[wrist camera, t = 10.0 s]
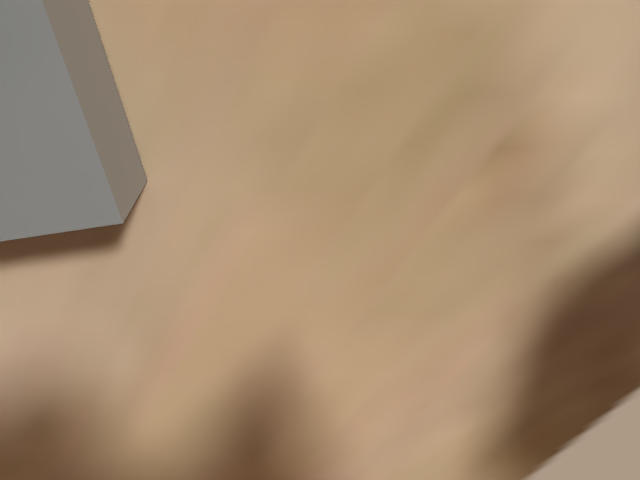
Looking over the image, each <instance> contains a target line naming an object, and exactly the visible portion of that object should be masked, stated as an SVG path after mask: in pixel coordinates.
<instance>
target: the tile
mask: <svg viewBox="0 0 640 480" xmlns="http://www.w3.org/2000/svg"><path fill="white" fill-rule="evenodd" d="M146 182H147V178H146V175H145V172H144V169H143V166H142V163H141V160H140V157H139V153H138V150H137V147H136V144H135V141H134V138H133V135H132V132H131V129H130V126H129V123H128V120H127V117H126V114H125V111H124V108H123V105H122V102H121V99H120V96H119V93H118V90H117V87H116V83H115V80H114V77H113V74H112V71H111V68H110V65H109V62H108V59H107V56H106V53H105V50H104V47H103V44H102V41H101V38H100V35H99V32H98V29H97V26H96V23H95V20H94V16H93V13H92V10H91V7H90V4H89V1H88V0H0V241H7V240H14V239H21V238H27V237H34V236H41V235H48V234H54V233H61V232H68V231H75V230H81V229H88V228H95V227H102V226H108V225H115V224H122V223H124V221H125V219H126V218H127V216H128V214H129V212H130V210H131V209H132V207H133V205H134V203H135V202H136V200H137V198H138V196H139V195H140V193H141V191H142V189H143V188H144V186H145V184H146Z"/></svg>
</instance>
